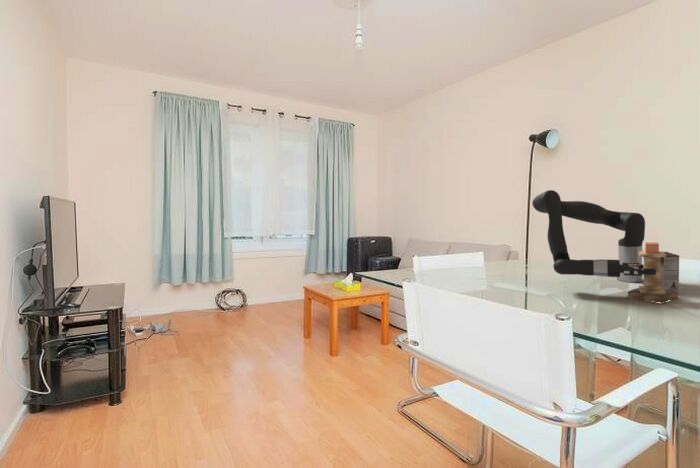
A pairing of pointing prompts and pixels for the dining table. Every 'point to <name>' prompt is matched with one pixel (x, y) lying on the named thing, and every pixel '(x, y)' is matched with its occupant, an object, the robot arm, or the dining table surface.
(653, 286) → the wooden pedestal
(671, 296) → the dock
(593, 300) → the dining table surface
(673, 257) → the coffee box
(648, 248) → the block
